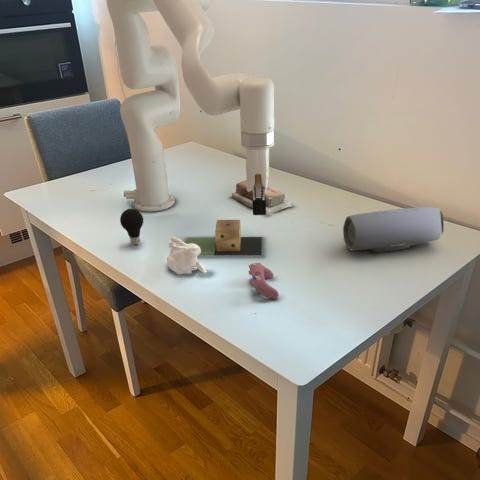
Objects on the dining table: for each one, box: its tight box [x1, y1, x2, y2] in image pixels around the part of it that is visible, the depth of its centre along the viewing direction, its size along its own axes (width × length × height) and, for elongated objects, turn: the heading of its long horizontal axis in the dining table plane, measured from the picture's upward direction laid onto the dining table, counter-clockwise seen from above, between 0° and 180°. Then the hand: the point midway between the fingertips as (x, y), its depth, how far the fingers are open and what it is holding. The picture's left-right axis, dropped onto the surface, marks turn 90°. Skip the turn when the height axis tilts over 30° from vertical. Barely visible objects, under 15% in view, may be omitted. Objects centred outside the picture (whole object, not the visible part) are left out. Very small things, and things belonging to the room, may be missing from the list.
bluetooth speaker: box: [342, 206, 445, 253], centre depth 125 cm, size 23×9×10 cm, turn 100°
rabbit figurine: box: [166, 236, 208, 275], centre depth 118 cm, size 12×8×10 cm, turn 49°
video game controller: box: [248, 261, 280, 300], centre depth 112 cm, size 10×5×7 cm, turn 5°
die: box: [214, 219, 242, 251], centre depth 128 cm, size 6×6×6 cm
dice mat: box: [185, 236, 263, 257], centre depth 130 cm, size 20×10×1 cm, turn 87°
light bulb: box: [119, 208, 144, 246], centre depth 130 cm, size 6×6×10 cm
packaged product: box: [231, 179, 293, 215], centre depth 152 cm, size 18×5×10 cm
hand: (259, 213), depth 124 cm, fingers closed
